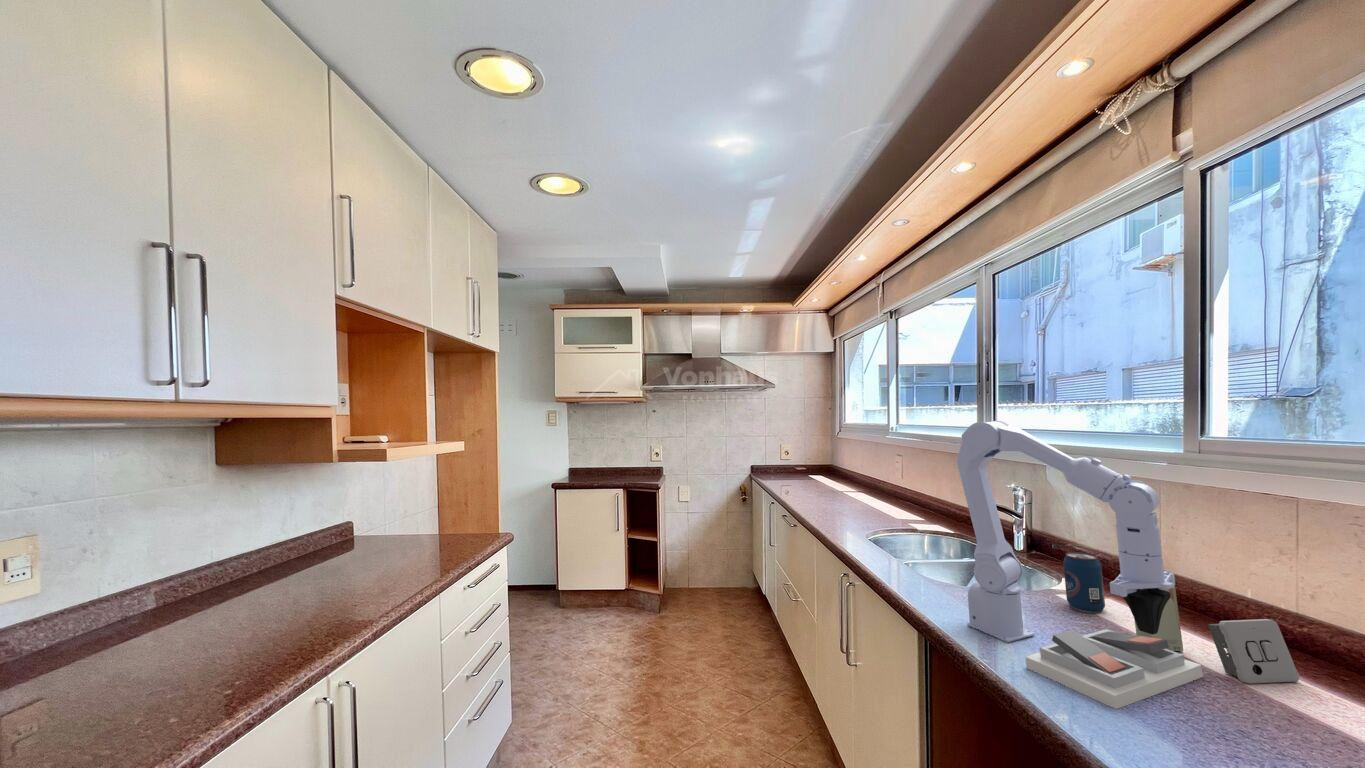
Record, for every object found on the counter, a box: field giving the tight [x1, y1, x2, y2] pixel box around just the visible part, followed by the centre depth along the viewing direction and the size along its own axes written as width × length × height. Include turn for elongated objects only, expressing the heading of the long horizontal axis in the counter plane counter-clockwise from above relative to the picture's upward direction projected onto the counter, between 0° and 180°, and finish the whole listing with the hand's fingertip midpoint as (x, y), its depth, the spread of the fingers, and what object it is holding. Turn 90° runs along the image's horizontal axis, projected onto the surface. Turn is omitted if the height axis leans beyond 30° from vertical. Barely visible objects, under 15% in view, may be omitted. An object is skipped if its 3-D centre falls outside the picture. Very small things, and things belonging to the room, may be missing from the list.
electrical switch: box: [1207, 618, 1300, 684], centre depth 85 cm, size 9×5×9 cm, turn 90°
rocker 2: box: [1092, 631, 1169, 653], centre depth 89 cm, size 9×5×1 cm, turn 20°
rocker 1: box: [1051, 629, 1129, 675], centre depth 86 cm, size 9×5×1 cm, turn 20°
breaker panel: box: [1025, 628, 1204, 710], centre depth 87 cm, size 14×23×4 cm, turn 110°
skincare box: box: [1134, 584, 1184, 652], centre depth 97 cm, size 6×4×12 cm
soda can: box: [1062, 551, 1106, 614], centre depth 115 cm, size 7×7×12 cm
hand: (1148, 631), depth 87 cm, fingers closed
